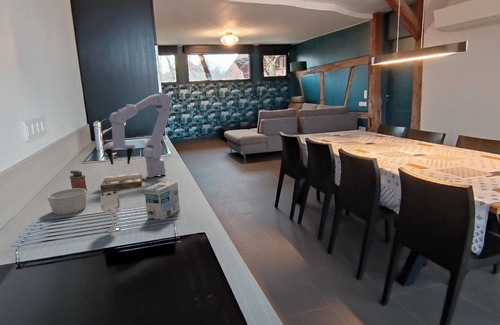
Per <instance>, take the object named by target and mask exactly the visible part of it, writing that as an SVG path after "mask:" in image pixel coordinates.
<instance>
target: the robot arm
mask: <svg viewBox="0 0 500 325" xmlns="http://www.w3.org/2000/svg"><path fill="white" fill-rule="evenodd" d="M170 104H171V99H170V97H169V95H168V94H167V93H154V94H151V95H148V96H147V97H145V98H144V99H142V100H140V101H139V102H137V103H135V104H128V103H127V104H125V106H124V107H122V108H118V109H117V111H115V112H114V111H113V112H112V113H111V114H110V115H109V117H108V120H109V122H110V124H111V133H112V137H111V138H112V145H103V147H102V149H103V151H105V154H106V155H107V157H108V159H109V163H110V165H111V166H113V165H114V158H113V157H114V155H113V154H114V152H113V151H115V150H117V151H118V150H126V156H127V159H126V160H127V161H126V162H127V165H130V163H131V157H132V154H133V151H134V150H136V145H135V144H129V145H128V144H126V133H125V132H126V131H125V123H126V121H127V120H129V119H131V118H133V117H134V116H136V115H137V114H138V111H140V110H143V109H144V108H146V107H148V106H151V105H152V106H153V108H155V109H156V110H157V112H158V116H157V118H156V122H155V125H154V128H153V130H152V134H151V137H150V140H149V141H148V142H147V143H146V145H145V147H144V148H143V149H142V156H143V157H144V158H145V164H146V172H147V174H146V178H147V177H150V178H155V177H154V176H158V175H165V176H166V168H165V162H164V161H165V160H164V158H161V157H162V154H163V153H162V149H163V146H162V144H161V142H162V140H163V136H164V133H165V130H166V127H167V123H168V121H169V118H170V114H171V106H170Z"/></svg>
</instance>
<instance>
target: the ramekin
mask: <svg viewBox="0 0 500 325" xmlns="http://www.w3.org/2000/svg"><path fill="white" fill-rule="evenodd" d="M87 192H88V191H87ZM87 192H86V189H82V188H75V189H72V188H68V189H61V190H59V191H58V190H57V191H54V192H52V193H50V194H48V195H47V200H48V202H49V206H50V208H51V211H52V213H53V214H55V215H59V216H60V215H61V216H62V215H71V214H75V213H78V212H79V213H80V211H83V210H84V209H85V208H86V207H87V194H88V193H87Z"/></svg>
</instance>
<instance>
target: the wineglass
mask: <svg viewBox="0 0 500 325" xmlns="http://www.w3.org/2000/svg"><path fill="white" fill-rule="evenodd" d="M99 200H100V202H99V204H100V209H101V210H102V212H104V213H106V214H110V216H109V217H110V218H111V224H112V226H111V227H108V228H107V229H106V232H108V233H115V232H118V231H120V230H122V227H121V226H117V225H116V226H115V223H114V220H115V219H114V217H115V215H114V213H116V212H118V211H119V209H120V207H121V200H120V196H119V194H118V192H117V191H116V190H110V191H104V192H101V194H100V199H99Z"/></svg>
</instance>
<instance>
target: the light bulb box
mask: <svg viewBox="0 0 500 325" xmlns="http://www.w3.org/2000/svg"><path fill="white" fill-rule="evenodd" d="M143 190H144V191H143V192H144V198H145V206H146V207H145V208H146V216H147V219H150V218H155V219H154V220H158V219H160V220H161V221H164V220H166V219H168V218H169V217H171V216H172V214H173V215H174V213H175V214H176V213H178V212H180V211H181V209H180V208H181V206H180V205H181V204H180V197H179V186H178V182H175V181H165V180H164V181H161V182H158V183H155V184H152V185H150V186H148V187H145V188H143ZM170 215H171V216H170ZM168 216H169V217H168ZM163 219H164V220H163Z"/></svg>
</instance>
